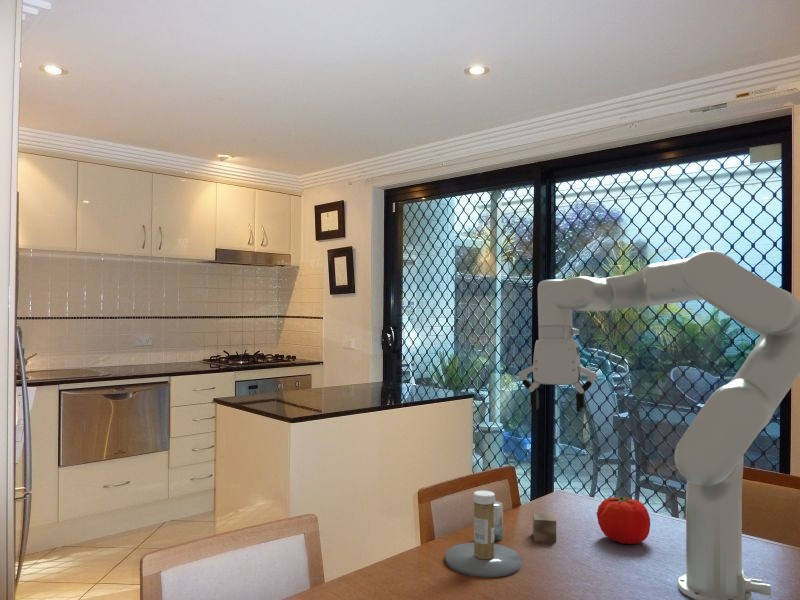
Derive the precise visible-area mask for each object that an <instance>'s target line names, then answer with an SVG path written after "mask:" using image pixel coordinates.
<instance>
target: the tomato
mask: <svg viewBox="0 0 800 600" xmlns="http://www.w3.org/2000/svg"><path fill="white" fill-rule="evenodd" d="M633 496H634V495H630V496H628V497H624V496H617V497H615V496H612V497H608V498H605V499H604V500H603V501H601V503H599V505H598V507H597V510H596V517H597V522H598V523H597V524H598V525H599V528H600V530H601V532H602V533H603V535H604V536H605V537H607V538H608V539H609V540H612V541H615V542H617V543H620V544H629V545H636V544H639V543H642V542H644V541H645V540H646V539H647V538H648V536H649V534H650V531H651V530H650V529H651V516H650V514H649V511H648V509H647V508H646V506H645V505H644V504H643V502H641V501H639V500H637V499H632V498H631V497H633Z"/></svg>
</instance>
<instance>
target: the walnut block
mask: <svg viewBox="0 0 800 600" xmlns="http://www.w3.org/2000/svg"><path fill="white" fill-rule="evenodd" d="M532 536H533V540H534V542H546V541H550V542H549V543H557V519H556V516H555V514H554V513H535V512H532ZM551 541H552V542H551Z"/></svg>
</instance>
